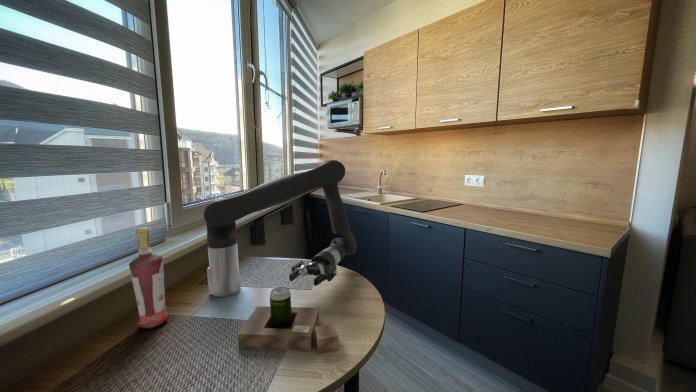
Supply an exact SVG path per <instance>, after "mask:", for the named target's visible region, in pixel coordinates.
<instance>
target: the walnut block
mask: <svg viewBox="0 0 696 392" xmlns="http://www.w3.org/2000/svg"><path fill="white" fill-rule="evenodd" d="M314 342H315V347H316V350H317V354H318V355H323V354H326V353H327V354H328V353H332V352H337V351H339V334H338V331H337V329H336V326H335V323H328V324H322V325H318V326H316V327H315V338H314Z"/></svg>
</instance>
